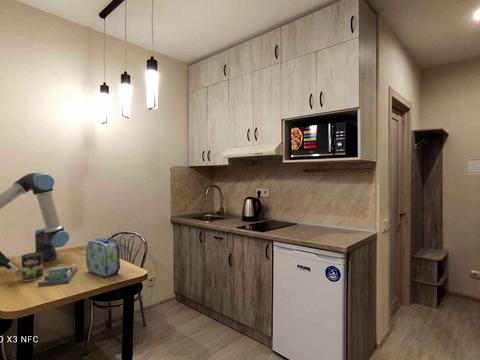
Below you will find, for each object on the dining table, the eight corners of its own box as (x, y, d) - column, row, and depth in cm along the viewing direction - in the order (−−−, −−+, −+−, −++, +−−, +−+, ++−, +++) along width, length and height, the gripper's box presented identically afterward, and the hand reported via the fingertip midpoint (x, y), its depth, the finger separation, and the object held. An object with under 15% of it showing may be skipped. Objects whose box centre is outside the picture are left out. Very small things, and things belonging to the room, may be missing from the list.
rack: (52, 272, 179) (51, 264, 179) (77, 269, 183) (77, 261, 183) (38, 286, 156) (38, 277, 155) (67, 283, 160) (67, 273, 160)
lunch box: (122, 274, 173) (122, 240, 173) (105, 279, 164) (104, 243, 164) (101, 267, 189) (100, 235, 188) (84, 271, 180) (84, 238, 180)
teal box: (51, 280, 165) (51, 267, 165) (65, 278, 167) (65, 266, 167) (48, 283, 160) (48, 270, 160) (63, 282, 162) (62, 269, 162)
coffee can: (41, 279, 167) (41, 255, 167) (20, 282, 162) (19, 257, 162) (44, 274, 176) (43, 251, 176) (23, 277, 172) (23, 253, 172)
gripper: (-19, 247, 166) (15, 273, 172) (-33, 253, 154) (5, 280, 159) (-8, 238, 168) (26, 263, 173) (-21, 242, 156) (16, 269, 161)
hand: (16, 271), depth 166 cm, fingers closed
